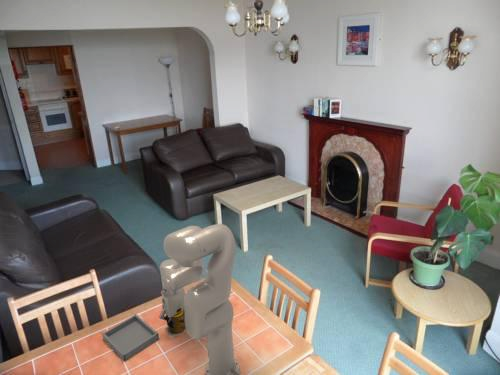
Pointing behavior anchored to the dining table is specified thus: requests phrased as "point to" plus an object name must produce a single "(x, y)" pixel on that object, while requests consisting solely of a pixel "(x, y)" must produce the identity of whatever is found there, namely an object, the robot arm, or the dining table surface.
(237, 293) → the dining table surface
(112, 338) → the tray
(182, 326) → the condiment
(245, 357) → the dining table surface
